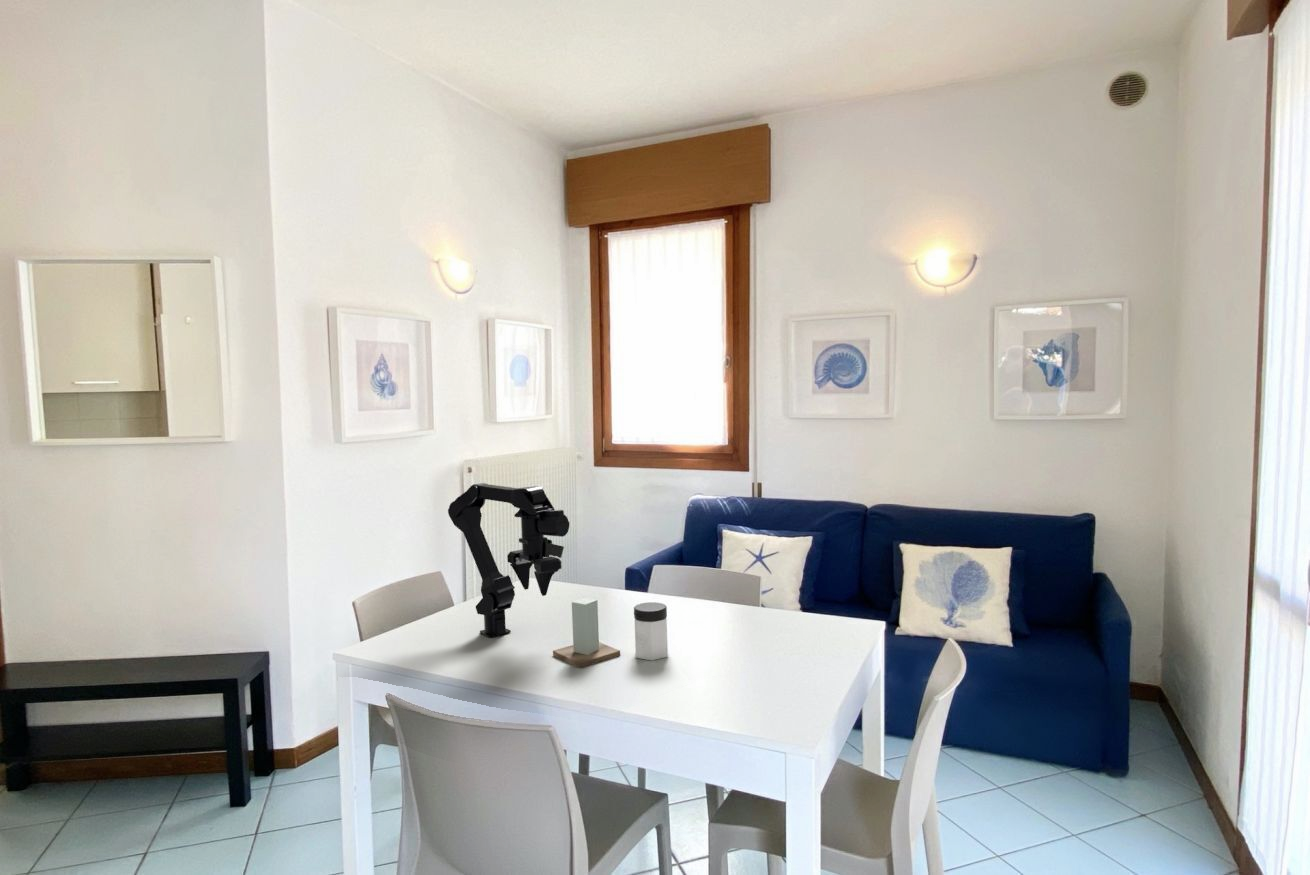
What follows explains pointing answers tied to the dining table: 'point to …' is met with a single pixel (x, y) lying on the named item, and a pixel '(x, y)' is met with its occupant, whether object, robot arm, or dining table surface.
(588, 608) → the pale green square post
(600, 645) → the plate
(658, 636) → the jar
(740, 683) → the dining table surface
